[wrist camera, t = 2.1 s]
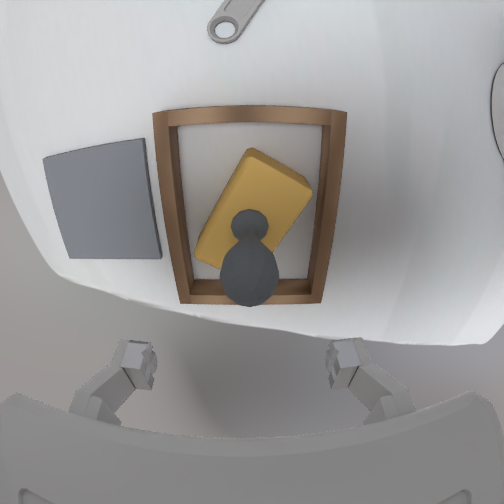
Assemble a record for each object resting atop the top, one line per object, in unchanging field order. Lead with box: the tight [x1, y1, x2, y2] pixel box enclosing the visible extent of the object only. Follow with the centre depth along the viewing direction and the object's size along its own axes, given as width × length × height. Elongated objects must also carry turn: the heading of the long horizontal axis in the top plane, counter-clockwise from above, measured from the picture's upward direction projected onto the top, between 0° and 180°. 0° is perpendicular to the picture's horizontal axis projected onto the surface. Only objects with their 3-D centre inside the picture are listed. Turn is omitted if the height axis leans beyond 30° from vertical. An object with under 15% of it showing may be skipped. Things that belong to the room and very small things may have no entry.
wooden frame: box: [152, 105, 347, 305], centre depth 23 cm, size 14×18×2 cm
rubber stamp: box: [194, 148, 312, 307], centre depth 20 cm, size 10×6×12 cm, turn 151°
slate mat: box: [43, 138, 162, 259], centre depth 24 cm, size 12×12×1 cm
